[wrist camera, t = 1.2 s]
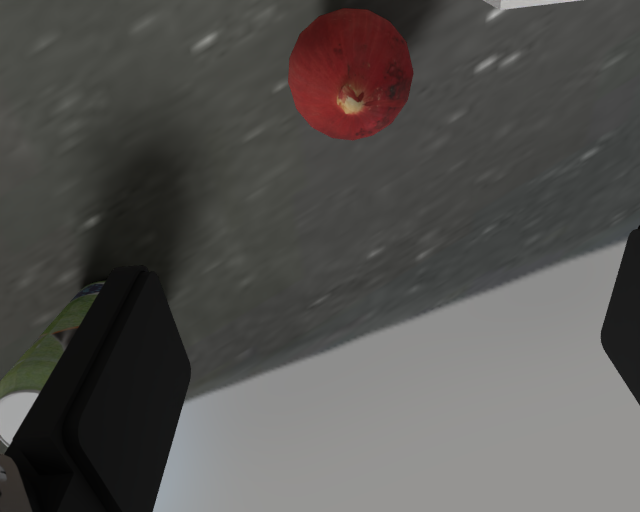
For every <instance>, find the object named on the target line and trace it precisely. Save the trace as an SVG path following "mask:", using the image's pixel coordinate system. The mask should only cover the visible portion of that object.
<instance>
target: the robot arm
mask: <svg viewBox="0 0 640 512" xmlns="http://www.w3.org/2000/svg"><path fill="white" fill-rule="evenodd" d="M601 343H602V346H603V348H604V350H605V352H606V354H607V355H608V357H609V358H610V360H611V361H612V363H613V364H614V366H615V368H616V369H617V370H618V372H619V374H620V375H621V377H622V378H623V380H624V381H625V383H626V385H627V386H628V388H629V389H630V391H631V392H632V394H633V395H634V397H635V398H636V400H637V402H638V403H639V405H640V225H639V227H638V229H635V230H633V231H632V232H631V233H630V235H629V237H628V240H627V244H626V247H625V251H624V254H623V258H622V261H621V264H620V268H619V271H618V275H617V278H616V282H615V285H614V289H613V292H612V296H611V299H610V302H609V306H608V310H607V313H606V316H605V320H604V323H603V327H602V330H601ZM190 377H191V367H190V362H189V359H188V357H187V354H186V351H185V349H184V346H183V343H182V340H181V338H180V335H179V332H178V330H177V327H176V324H175V321H174V319H173V316H172V313H171V311H170V308H169V305H168V302H167V300H166V297H165V294H164V292H163V289H162V286H161V283H160V281H159V278H158V276H157V274H156V273H155V272H153V271H152V272H149V271H148V269H147V268H146V267H145V266H143V265H140V266H128V267H117V268H114V269H113V270H112V271H111V273H110V275H109V276H108V278H107V280H106V281H105V283H104V285H103V286H102V288H101V290H100V292H99V293H98V295H97V297H96V298H95V300H94V302H93V303H92V305H91V307H90V308H89V310H88V312H87V314H86V315H85V317H84V319H83V320H82V322H81V324H80V325H79V327H78V329H77V330H76V332H75V334H74V336H73V337H72V339H71V341H70V342H69V344H68V346H67V347H66V349H65V351H64V352H63V354H62V356H61V358H60V359H59V361H58V363H57V364H56V366H55V368H54V369H53V371H52V373H51V374H50V376H49V378H48V380H47V381H46V383H45V385H44V386H43V388H42V390H41V391H40V393H39V395H38V396H37V398H36V400H35V402H34V403H33V405H32V407H31V408H30V410H29V412H28V413H27V415H26V417H25V418H24V420H23V422H22V423H21V425H20V427H19V429H18V430H17V432H16V434H15V435H14V437H13V439H12V442H11V444H10V445H9V447H8V449H7V451H6V452H5V454H4V455H3V454H0V512H153V508H154V505H155V501H156V497H157V494H158V491H159V487H160V483H161V480H162V476H163V473H164V469H165V466H166V463H167V459H168V456H169V452H170V448H171V445H172V441H173V438H174V434H175V431H176V427H177V424H178V420H179V416H180V413H181V410H182V406H183V403H184V399H185V396H186V392H187V389H188V385H189V382H190Z"/></svg>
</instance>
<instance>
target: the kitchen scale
mask: <svg viewBox="0 0 640 512" xmlns="http://www.w3.org/2000/svg"><path fill="white" fill-rule="evenodd" d="M483 1H485V2H487V3H489V4H490V5H492V6H494V7H496V8H498V9H500V10H503V9H511V8H520V7H528V6H537V5H545V4H553V3H562V2H570V1H578V0H483Z"/></svg>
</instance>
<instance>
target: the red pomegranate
mask: <svg viewBox="0 0 640 512" xmlns="http://www.w3.org/2000/svg"><path fill="white" fill-rule="evenodd" d="M412 77H413V68H412V64H411V59H410V55H409V51H408V47H407V42H406V41H405V40H404V38H403V37H402V36H401V35H400V33H399V32H398V31H397V30H396V28H395V27H394V26H393V25H392V23H391V22H390V21H388V20H386V19H384V18H382V17H381V16H379V15H377V14H375V13H373V12H371V11H369V10H365V9H349V8H342V9H339V10H336V11H333V12H330V13H327V14H324V15H321V16H319V17H318V18H317V19H316V20H315V21H313V22H312V23H311V24H310V25H309V26H308V27H307V28H306V29H305V30H304V31H302V33H301V34H300V35H299V37H298V40H297V42H296V44H295V47H294V49H293V51H292V53H291V56H290V59H289V76H288V83H289V86H290V89H291V92H292V95H293V98H294V102H295V105H296V109H297V110H298V111H299V112H300V114H301V115H302V116H303V117H304V118H305V120H306V121H307V122H308V123H309V124H310V126H311V127H313V128H314V129H316V130H318V131H320V132H322V133H324V134H326V135H328V136H330V137H332V138H337V139H346V140H356V139H360V138H364V137H368V136H372V135H374V134H376V133H377V132H379V131H380V130H382V129H383V128H385V127H387V126H388V125H390V124H391V123H392V122H393V121H394V119H395V118H396V116H397V115H398V113H399V112H400V111H401V109H402V108H403V106H404V105H405V103H406V102H407V100H408V96H409V91H410V87H411V82H412Z"/></svg>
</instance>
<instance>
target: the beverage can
mask: <svg viewBox="0 0 640 512" xmlns="http://www.w3.org/2000/svg"><path fill="white" fill-rule="evenodd" d="M104 283H105V281H98V282H95V283H91V284H89V285H87V286H85V287H84V288H83V289H81V290H80V291H79V292H78V294H77V295H76V296H75V297H74V298H73V299H72V300H71V301H70V303H69V304H68V305H67V306H66V307H65V308H64V309H63V311H62V312H61V313H60V314H59V315H58V316H57V317H56V318H55V320H54V321H53V322H52V323H51V324H50V325H49V326H48V328H47V329H46V330H45V331H44V332H43V333H42V334H41V335H40V337H39V338H38V339H37V340H36V341H35V342H34V343H33V345H32V346H31V347H30V348H29V349H28V350H27V351H26V353H25V354H24V355H23V356H22V357H21V358H20V359H19V360H18V362H17V363H16V364H15V365H14V366H13V367H12V368H11V370H10V371H9V372H8V373H7V374H6V375H5V376H4V378H3V379H2V380H1V381H0V440H1V441H2V442H3V443H4V444H5V445H6V446H8V447H9V445H10V444H11V442H12V439H13V437H14V435H15V434H16V432H17V430H18V429H19V427H20V425H21V423H22V422H23V420H24V418H25V417H26V415H27V413H28V412H29V410H30V408H31V407H32V405H33V403H34V402H35V400H36V398H37V396H38V395H39V393H40V391H41V390H42V388H43V386H44V385H45V383H46V381H47V380H48V378H49V376H50V374H51V373H52V371H53V369H54V368H55V366H56V364H57V363H58V361H59V359H60V358H61V356H62V354H63V352H64V351H65V349H66V347H67V346H68V344H69V342H70V341H71V339H72V337H73V336H74V334H75V332H76V330H77V329H78V327H79V325H80V324H81V322H82V320H83V319H84V317H85V315H86V314H87V312H88V310H89V308H90V307H91V305H92V303H93V302H94V300H95V298H96V297H97V295H98V293H99V292H100V290H101V288H102V286H103V285H104Z"/></svg>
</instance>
